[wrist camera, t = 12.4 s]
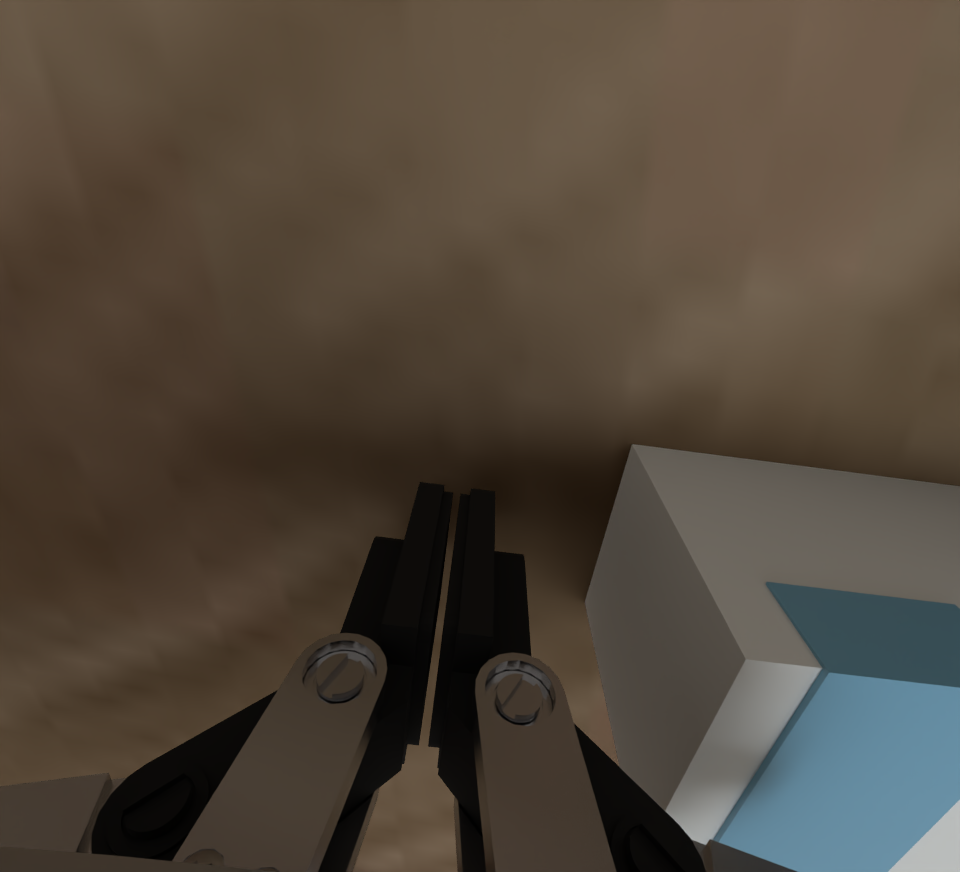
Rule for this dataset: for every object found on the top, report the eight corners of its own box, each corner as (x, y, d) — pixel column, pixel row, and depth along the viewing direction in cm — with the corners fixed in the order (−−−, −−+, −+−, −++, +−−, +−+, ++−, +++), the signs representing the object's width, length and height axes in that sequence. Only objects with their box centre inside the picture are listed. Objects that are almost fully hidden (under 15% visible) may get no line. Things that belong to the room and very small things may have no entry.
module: (583, 601, 14) (640, 868, 8) (631, 440, 12) (750, 663, 6) (861, 634, 14) (1089, 914, 9) (960, 482, 12) (1357, 734, 6)
